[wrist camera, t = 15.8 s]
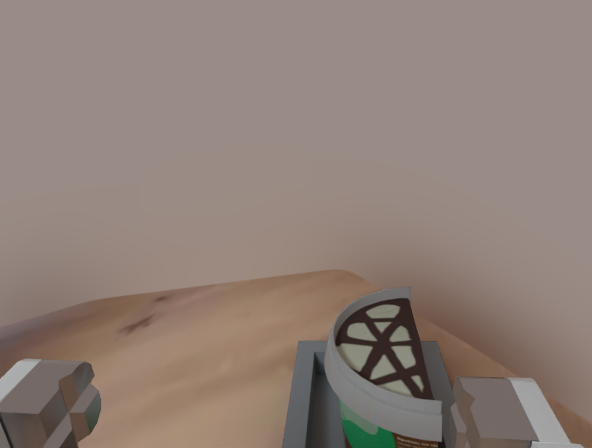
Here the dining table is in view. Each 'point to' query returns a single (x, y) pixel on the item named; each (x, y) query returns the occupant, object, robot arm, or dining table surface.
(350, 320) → the food container
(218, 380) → the dining table surface
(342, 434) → the tray
